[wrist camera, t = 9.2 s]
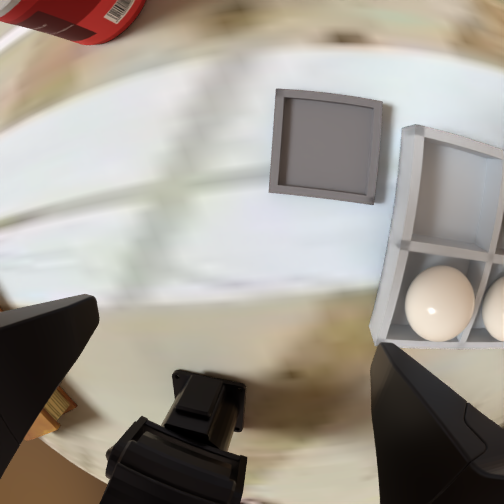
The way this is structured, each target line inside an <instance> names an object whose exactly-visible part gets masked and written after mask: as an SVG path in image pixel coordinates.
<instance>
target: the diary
mask: <svg viewBox="0 0 504 504" xmlns="http://www.w3.org/2000/svg"><path fill="white" fill-rule="evenodd" d="M0 312H3V310H2V309H1V307H0ZM76 407H77V404H76V403H75V402H74V401H73V400H72V399H71V398H70V397H69V396H68V395H67V394H66V393H65V392H64V391H63V389H62V388H61V387H60V386H58V387H57V389H56V390H55V392H54V393H53V394H52V396H51V397H50V399H49V400H48V402H47V403H46V405H45V406H44V408H43V409H42V411H41V412H40V414H39V415H38V417H37V419H36V420H35V422H34V423H33V425H32V426H31V428H30V429H29V431H28V433H27V434H26V436H25V437H24V439H25V440H26V441H28V440H31V439H34V438H37V437H40V436H42V435H45V434H48V433H50V432H53V431H55V430H57V429H58V428H59V427H60V426H61V425H60V424H59V423H58V422H57V419H58V418H59V417H60V416H61V415H62V414H64V413H66V412H68V411H70V410H72V409H74V408H76Z"/></svg>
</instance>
